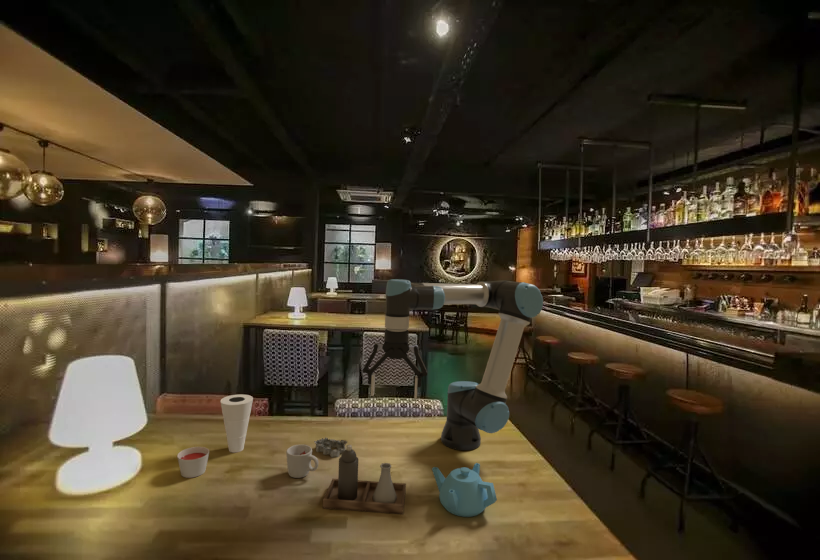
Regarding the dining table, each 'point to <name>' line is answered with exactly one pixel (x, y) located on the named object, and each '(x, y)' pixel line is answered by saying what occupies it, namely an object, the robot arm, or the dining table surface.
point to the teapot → (464, 491)
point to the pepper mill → (348, 475)
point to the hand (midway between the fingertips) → (394, 395)
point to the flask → (385, 486)
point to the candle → (193, 461)
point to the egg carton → (326, 443)
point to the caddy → (365, 498)
